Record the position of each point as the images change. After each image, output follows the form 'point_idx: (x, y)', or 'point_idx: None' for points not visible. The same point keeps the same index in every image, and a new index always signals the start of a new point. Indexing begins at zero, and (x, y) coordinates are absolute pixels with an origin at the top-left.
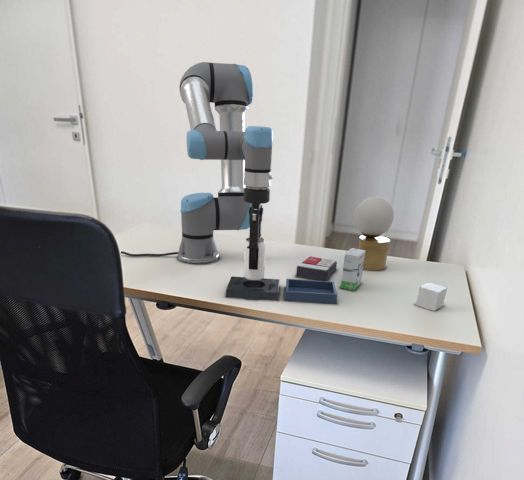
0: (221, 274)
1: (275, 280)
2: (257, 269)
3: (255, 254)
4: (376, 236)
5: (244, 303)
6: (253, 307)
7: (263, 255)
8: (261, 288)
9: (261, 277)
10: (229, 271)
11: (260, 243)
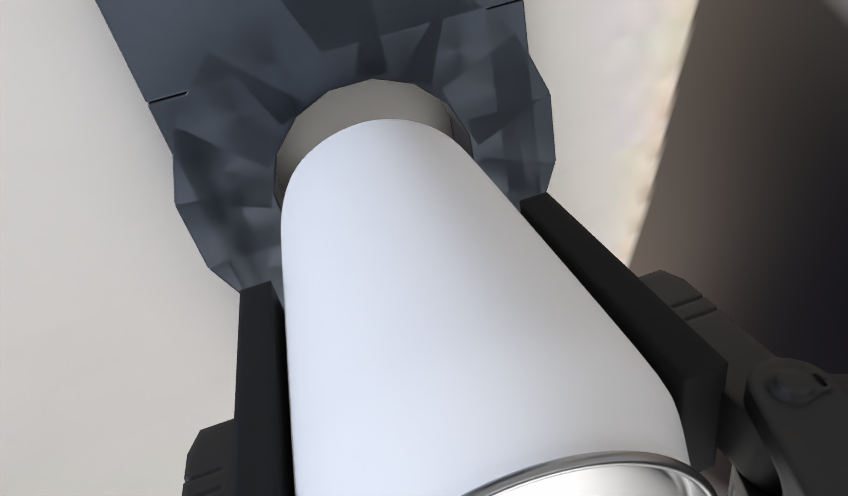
0: (155, 469)
1: (156, 19)
2: (547, 194)
3: (728, 317)
4: None
5: (602, 128)
6: (658, 42)
7: (512, 246)
8: (453, 82)
9: (436, 130)
10: (52, 466)
11: (661, 439)
